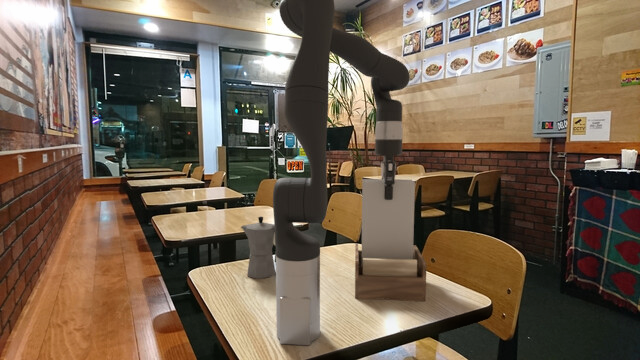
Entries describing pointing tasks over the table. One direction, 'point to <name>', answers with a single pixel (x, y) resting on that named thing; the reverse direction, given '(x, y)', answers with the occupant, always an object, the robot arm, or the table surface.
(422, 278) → the rack
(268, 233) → the coffeepot
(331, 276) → the table surface
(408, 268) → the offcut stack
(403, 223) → the brochure
